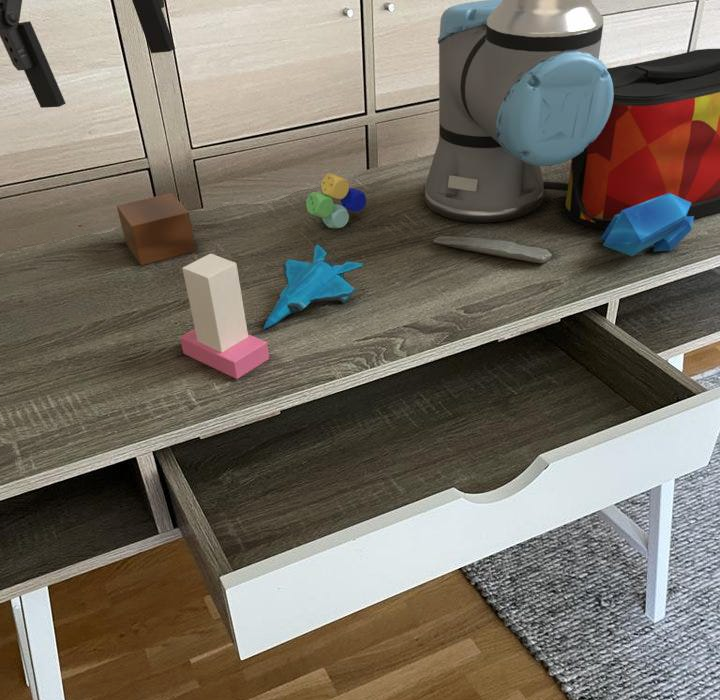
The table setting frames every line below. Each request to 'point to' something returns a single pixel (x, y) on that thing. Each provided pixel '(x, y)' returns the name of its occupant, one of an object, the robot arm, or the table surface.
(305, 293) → the toy airplane
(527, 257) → the stone tool
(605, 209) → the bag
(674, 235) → the crystal
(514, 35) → the robot arm
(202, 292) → the block on pink pedestal
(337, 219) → the dice
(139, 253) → the wood block
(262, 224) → the table surface
